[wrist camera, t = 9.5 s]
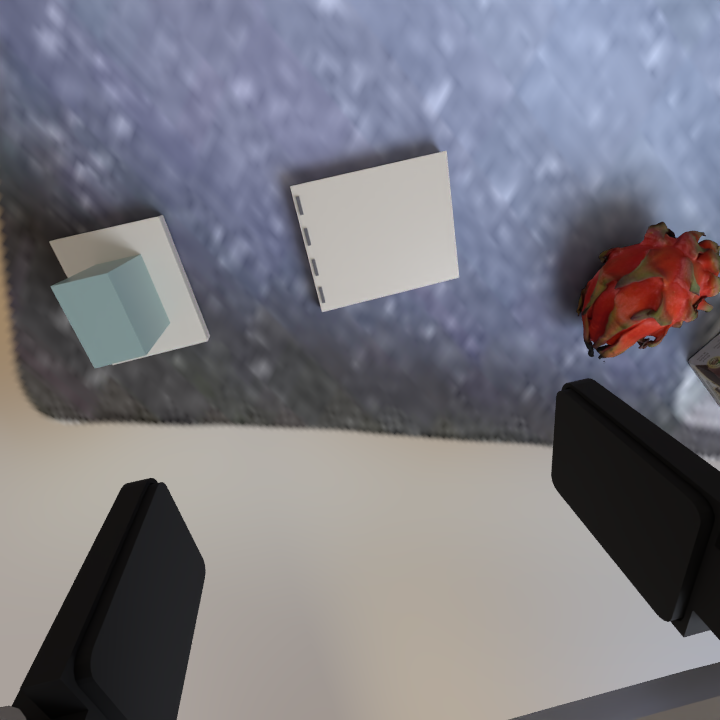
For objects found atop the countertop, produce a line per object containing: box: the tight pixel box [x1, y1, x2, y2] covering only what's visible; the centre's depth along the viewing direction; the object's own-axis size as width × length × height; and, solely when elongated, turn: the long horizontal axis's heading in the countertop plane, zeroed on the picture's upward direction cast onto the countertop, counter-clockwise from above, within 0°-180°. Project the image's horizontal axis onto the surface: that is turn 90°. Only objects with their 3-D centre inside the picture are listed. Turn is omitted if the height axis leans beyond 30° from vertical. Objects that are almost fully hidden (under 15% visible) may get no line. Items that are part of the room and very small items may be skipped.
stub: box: [49, 215, 210, 368], centre depth 27 cm, size 9×7×7 cm
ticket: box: [290, 151, 459, 312], centre depth 31 cm, size 9×11×1 cm
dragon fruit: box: [577, 222, 720, 362], centre depth 33 cm, size 8×8×12 cm
